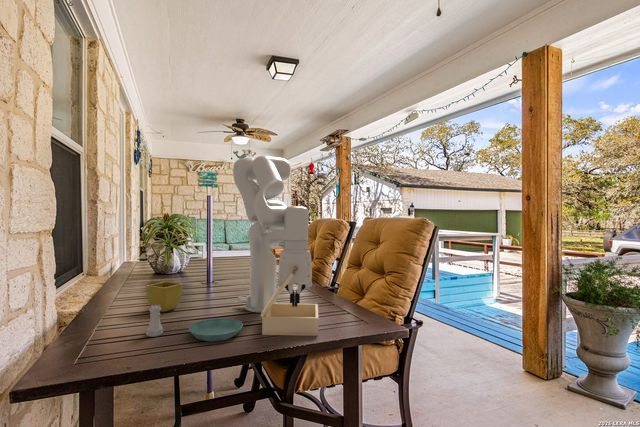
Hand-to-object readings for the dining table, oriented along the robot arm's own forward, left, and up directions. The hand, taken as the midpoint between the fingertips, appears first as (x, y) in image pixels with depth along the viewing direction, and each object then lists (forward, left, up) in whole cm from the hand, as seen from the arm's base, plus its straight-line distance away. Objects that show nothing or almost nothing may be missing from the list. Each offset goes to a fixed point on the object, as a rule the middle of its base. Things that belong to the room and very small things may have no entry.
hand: (294, 305), depth 106 cm
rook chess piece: (-39, -9, -7) cm, 40 cm away
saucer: (-22, -8, -7) cm, 24 cm away
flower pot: (-47, +16, -7) cm, 50 cm away
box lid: (-4, 0, +5) cm, 7 cm away
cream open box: (-1, 0, -7) cm, 7 cm away
